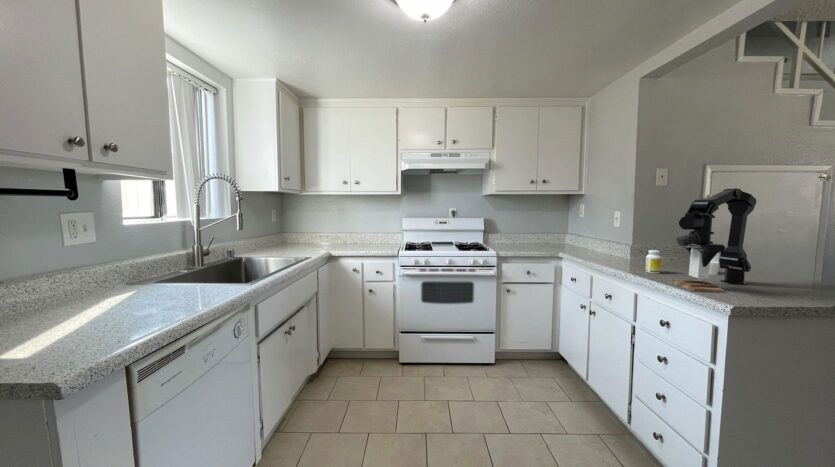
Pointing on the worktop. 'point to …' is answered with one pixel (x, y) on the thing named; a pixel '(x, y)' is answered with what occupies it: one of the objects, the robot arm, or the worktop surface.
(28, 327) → the worktop surface
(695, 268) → the skincare box
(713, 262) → the cylinder with rectangular tab
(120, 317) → the worktop surface
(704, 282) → the wooden slatted trivet
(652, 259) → the pill bottle
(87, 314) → the worktop surface
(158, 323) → the worktop surface
